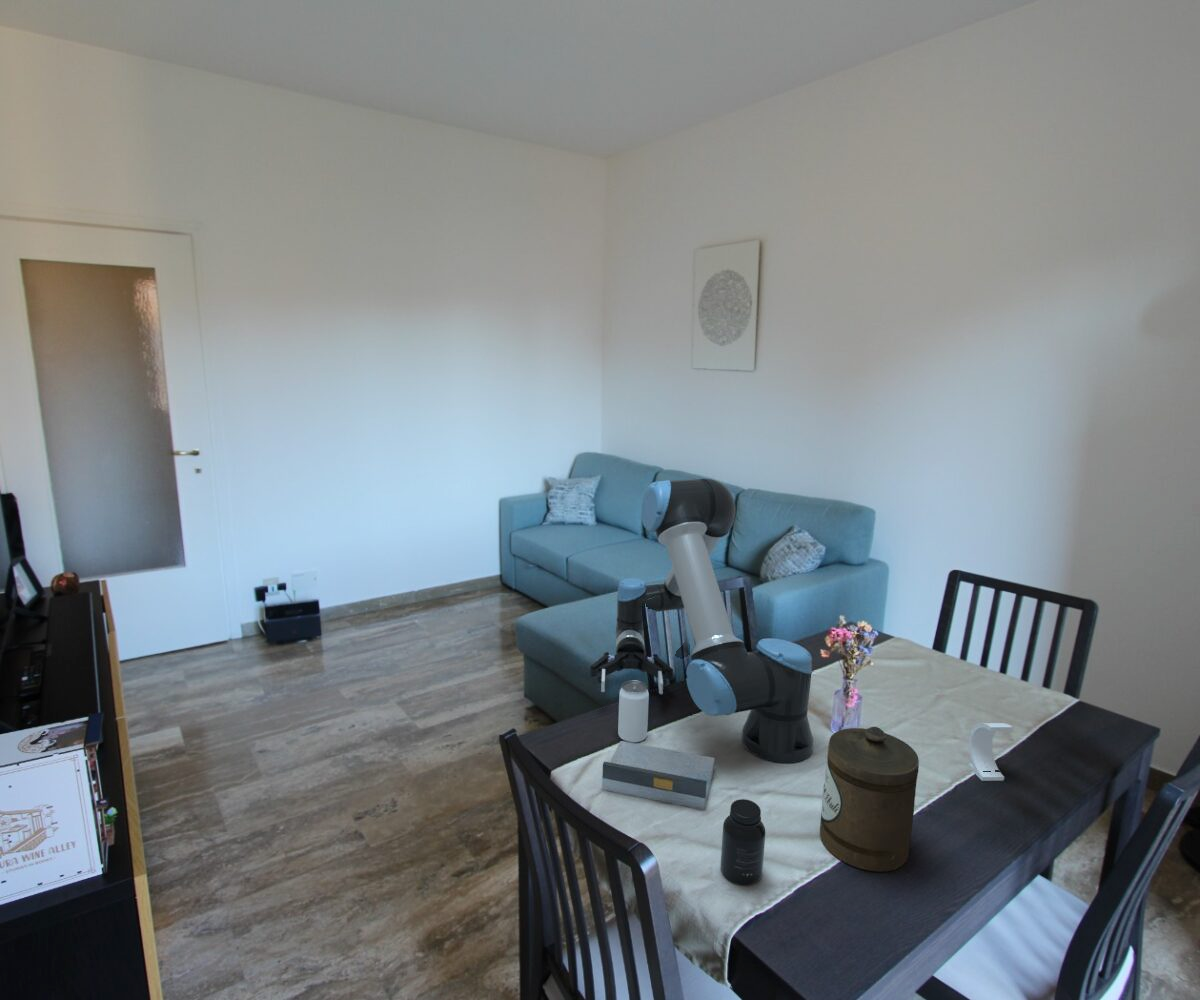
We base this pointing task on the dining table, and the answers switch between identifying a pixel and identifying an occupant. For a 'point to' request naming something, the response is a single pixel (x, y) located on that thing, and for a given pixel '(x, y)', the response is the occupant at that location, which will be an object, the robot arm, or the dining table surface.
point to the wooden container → (869, 798)
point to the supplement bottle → (743, 843)
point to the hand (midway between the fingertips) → (632, 687)
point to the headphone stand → (985, 750)
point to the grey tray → (659, 774)
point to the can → (633, 711)
